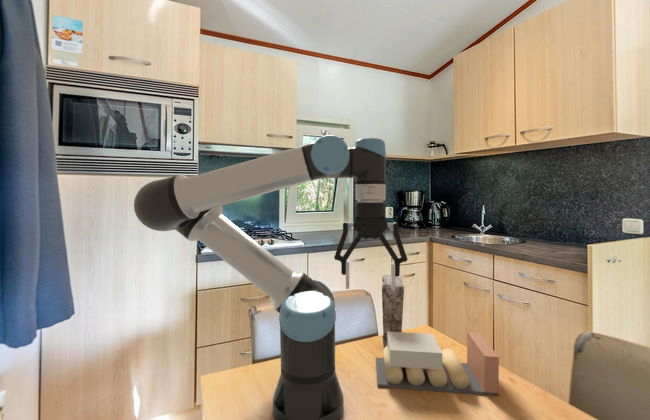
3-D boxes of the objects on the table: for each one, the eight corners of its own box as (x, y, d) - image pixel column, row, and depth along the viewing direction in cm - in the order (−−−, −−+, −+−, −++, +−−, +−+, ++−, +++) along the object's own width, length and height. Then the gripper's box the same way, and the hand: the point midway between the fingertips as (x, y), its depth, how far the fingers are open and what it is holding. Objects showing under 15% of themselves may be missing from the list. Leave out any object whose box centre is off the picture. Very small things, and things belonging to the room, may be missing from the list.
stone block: (406, 355, 87) (407, 285, 86) (382, 354, 88) (382, 285, 87) (399, 334, 100) (399, 273, 99) (377, 333, 101) (377, 273, 100)
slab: (390, 366, 73) (390, 350, 73) (387, 345, 83) (387, 331, 83) (442, 369, 72) (442, 353, 71) (432, 348, 82) (433, 333, 81)
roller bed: (377, 386, 73) (377, 367, 73) (375, 359, 85) (375, 343, 85) (498, 395, 69) (498, 375, 69) (478, 366, 81) (479, 349, 81)
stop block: (484, 394, 70) (484, 356, 69) (466, 365, 82) (467, 332, 81) (498, 395, 69) (499, 356, 69) (478, 366, 81) (479, 333, 81)
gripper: (322, 202, 75) (322, 290, 76) (420, 201, 72) (419, 294, 73) (326, 201, 82) (326, 282, 83) (415, 201, 79) (414, 285, 80)
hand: (370, 288), depth 78 cm, fingers open, 11 cm apart
